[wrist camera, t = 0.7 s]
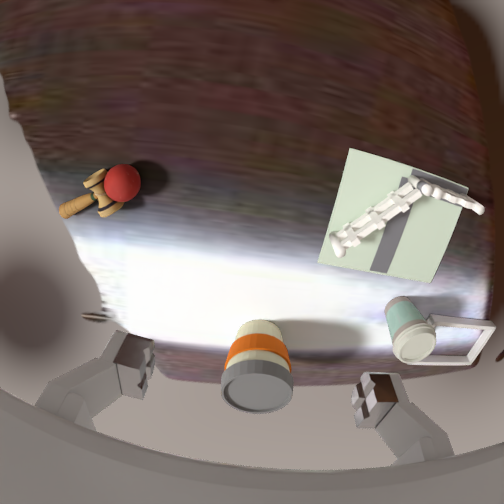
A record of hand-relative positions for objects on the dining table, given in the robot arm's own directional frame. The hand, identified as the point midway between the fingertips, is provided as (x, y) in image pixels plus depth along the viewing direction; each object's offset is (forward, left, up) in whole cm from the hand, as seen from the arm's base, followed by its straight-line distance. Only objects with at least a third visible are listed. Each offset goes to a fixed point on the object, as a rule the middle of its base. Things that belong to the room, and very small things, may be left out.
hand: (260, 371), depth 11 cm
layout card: (+5, +24, -39) cm, 46 cm away
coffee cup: (+22, +31, -39) cm, 55 cm away
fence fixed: (-3, +30, -39) cm, 49 cm away
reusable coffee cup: (+34, +5, -39) cm, 52 cm away
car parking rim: (+29, +51, -39) cm, 71 cm away
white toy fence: (+3, +18, -38) cm, 42 cm away
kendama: (+9, -27, -39) cm, 49 cm away
